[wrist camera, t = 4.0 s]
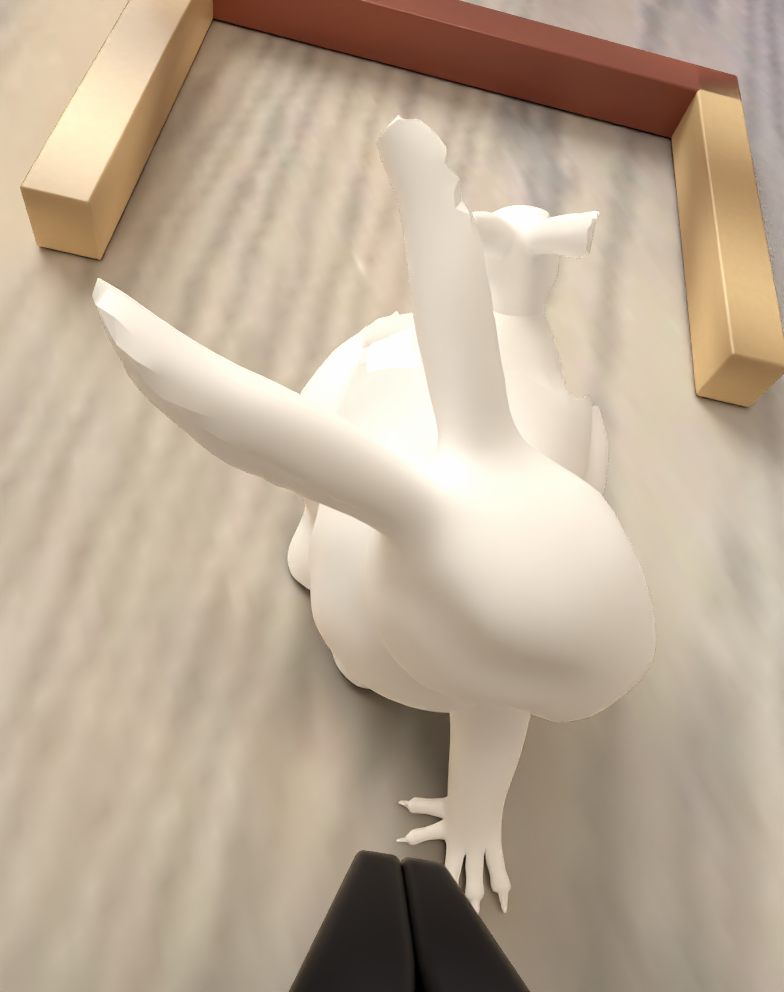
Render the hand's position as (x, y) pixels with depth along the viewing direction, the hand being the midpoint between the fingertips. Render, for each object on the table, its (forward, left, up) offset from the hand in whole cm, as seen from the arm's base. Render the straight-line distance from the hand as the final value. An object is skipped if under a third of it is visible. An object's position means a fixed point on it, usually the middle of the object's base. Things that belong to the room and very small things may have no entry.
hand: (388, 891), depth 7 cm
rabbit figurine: (+6, 0, -7) cm, 9 cm away
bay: (+20, 0, -7) cm, 21 cm away
